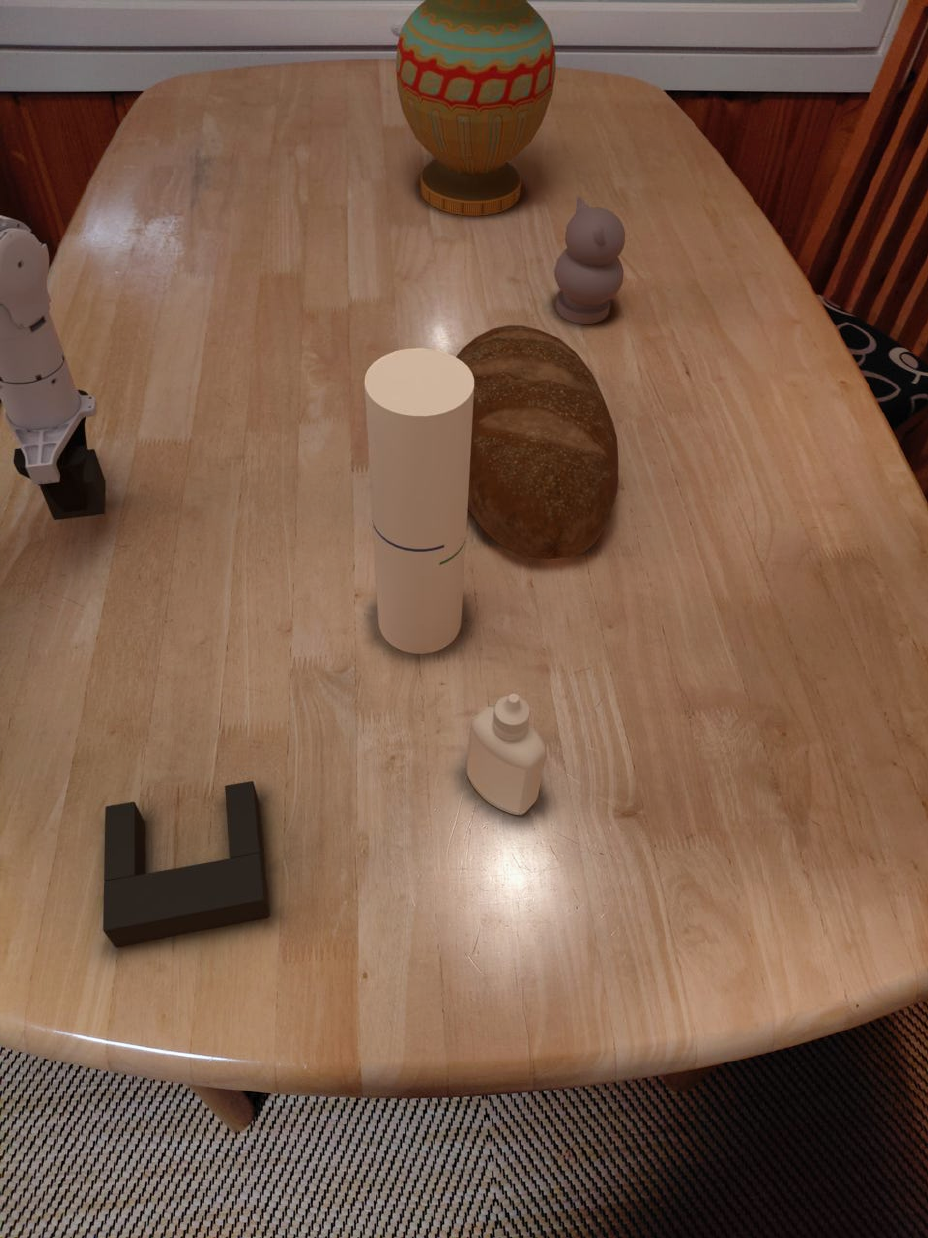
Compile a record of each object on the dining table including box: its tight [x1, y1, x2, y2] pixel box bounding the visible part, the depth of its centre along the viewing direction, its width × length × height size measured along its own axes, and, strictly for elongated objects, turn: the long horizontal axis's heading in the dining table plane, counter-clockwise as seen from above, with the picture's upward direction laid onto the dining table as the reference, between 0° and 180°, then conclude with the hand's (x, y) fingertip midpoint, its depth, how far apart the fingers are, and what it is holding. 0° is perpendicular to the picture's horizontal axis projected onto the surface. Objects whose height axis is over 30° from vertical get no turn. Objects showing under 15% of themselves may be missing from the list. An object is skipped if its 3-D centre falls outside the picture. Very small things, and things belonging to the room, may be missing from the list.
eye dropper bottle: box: [466, 693, 547, 816], centre depth 66 cm, size 4×6×12 cm
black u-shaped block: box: [102, 780, 271, 948], centre depth 64 cm, size 10×9×3 cm
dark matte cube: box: [39, 448, 107, 521], centre depth 83 cm, size 4×4×4 cm
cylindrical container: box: [364, 347, 474, 655], centre depth 70 cm, size 7×7×25 cm
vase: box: [395, 0, 557, 217], centre depth 116 cm, size 20×20×30 cm
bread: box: [455, 324, 619, 561], centre depth 89 cm, size 16×29×11 cm, turn 9°
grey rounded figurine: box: [553, 195, 626, 325], centre depth 106 cm, size 8×8×12 cm
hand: (76, 489), depth 84 cm, fingers closed on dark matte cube, 4 cm apart
